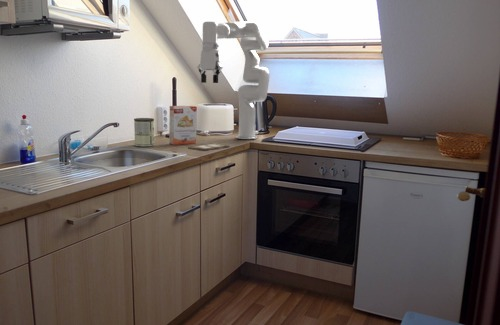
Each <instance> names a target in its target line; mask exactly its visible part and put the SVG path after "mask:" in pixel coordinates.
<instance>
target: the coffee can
mask: <svg viewBox="0 0 500 325" xmlns="http://www.w3.org/2000/svg"><path fill="white" fill-rule="evenodd" d="M133 122H134V124H133V125H134V146H136V147H153V146H155V119H154V118H152V117H151V118H149V117H136V118H133Z"/></svg>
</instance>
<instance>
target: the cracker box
mask: <svg viewBox="0 0 500 325" xmlns="http://www.w3.org/2000/svg"><path fill="white" fill-rule="evenodd" d="M197 108H198V107H197V106H196V105H170V106H169V127H168V128H169V132H168V133H169V138H168V139H169V144H170V145H172V146H176V145H194V144H195V145H196V144H197V119H198V118H197V117H198V116H197V113H198V109H197Z"/></svg>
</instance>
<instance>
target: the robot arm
mask: <svg viewBox="0 0 500 325" xmlns="http://www.w3.org/2000/svg"><path fill="white" fill-rule="evenodd" d="M219 39H220V40H221V39H226V40H227V39H229V40H230V39H240V40H239V45H240V47H241V50H242V52H243V55H244V66H243V67H244V68H243V73H242V74H243V75H242V79H243V81H244V82H245V83H247V84H243V85H240V87H238V90H237V97H238V103H239V106H238V110H239V111H238V135H236V136H235V139H241V140H255V139H257V138H258V136H257V135H258V134H259V130H255V129H256V126H255V125H256V107H255V104H254V103H253V102H256V103H258V102H259V103H261V102H262V103H263V102H265V101H266V99H267V96H268V90H269V85H270V84H269V83H270V78H271V77H270V71H269V69H268V68H267V67H264V66H260V57H259V55H258V54H257V52H256V51H262V52H263V51H265V50H266V49H267V48H268V47H269V40H268V36H267V35H266V33H265V31H264V29H263V28H262V26H261V25H260V23H259V22H257V21H229V22H221V23H220V22H219V23H218V22H215V21H204V22H203V23H202V48H201V53H200V59H199V60H200V63H199V64H198V65H197V66H196V68H197V70H198V72H199V74H200V82H201V83H202V84H203V83H207V72H208V71H212V73H213V75H212V83H213V84H218V83H219V75H220V73H221V72H222V69H223V68H224V66H222V64H221V58H220V56H221V55H220V51H219V50H218V48H219V44H218V40H219ZM256 84H257V85H256Z"/></svg>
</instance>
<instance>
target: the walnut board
mask: <svg viewBox="0 0 500 325" xmlns="http://www.w3.org/2000/svg"><path fill="white" fill-rule="evenodd" d="M226 148H230V145H227V144H220V143H206V144H197V145H191V146H187V149H191V150H197V151H202V152H203V151H204V152H205V151H206V152H208V151H213V150H219V149H220V150H221V149H226Z"/></svg>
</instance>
